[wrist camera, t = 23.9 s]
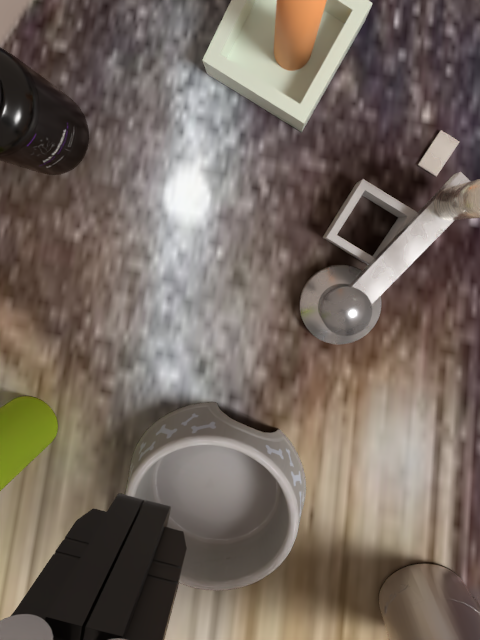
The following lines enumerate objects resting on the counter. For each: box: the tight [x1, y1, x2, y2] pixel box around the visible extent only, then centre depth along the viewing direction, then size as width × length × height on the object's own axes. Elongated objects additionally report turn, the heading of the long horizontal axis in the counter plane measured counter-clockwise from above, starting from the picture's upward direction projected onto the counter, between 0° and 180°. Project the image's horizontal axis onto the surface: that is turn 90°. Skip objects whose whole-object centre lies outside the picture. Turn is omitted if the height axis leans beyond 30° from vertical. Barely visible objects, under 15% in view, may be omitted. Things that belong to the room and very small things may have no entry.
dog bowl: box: [125, 402, 306, 590], centre depth 37 cm, size 17×18×5 cm
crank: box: [318, 172, 480, 336], centre depth 28 cm, size 15×4×8 cm, turn 139°
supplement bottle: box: [0, 48, 89, 175], centre depth 27 cm, size 7×7×12 cm
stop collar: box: [322, 179, 417, 265], centre depth 32 cm, size 5×5×2 cm
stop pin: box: [274, 0, 327, 71], centre depth 24 cm, size 3×3×11 cm
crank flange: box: [299, 130, 459, 344], centre depth 32 cm, size 7×20×1 cm, turn 150°
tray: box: [202, 0, 373, 132], centre depth 29 cm, size 9×9×2 cm
